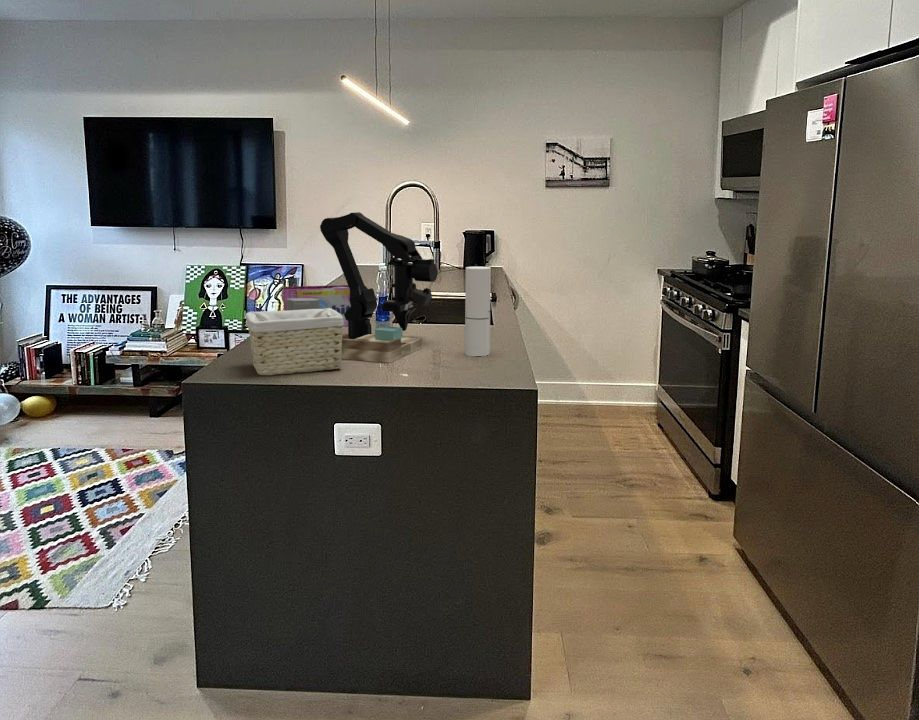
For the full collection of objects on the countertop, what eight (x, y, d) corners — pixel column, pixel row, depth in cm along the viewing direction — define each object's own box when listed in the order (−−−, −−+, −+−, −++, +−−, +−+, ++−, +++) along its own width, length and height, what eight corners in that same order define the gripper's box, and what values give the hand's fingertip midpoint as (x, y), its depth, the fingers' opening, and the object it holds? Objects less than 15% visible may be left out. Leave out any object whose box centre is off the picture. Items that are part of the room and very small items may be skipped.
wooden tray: (331, 357, 231) (331, 338, 229) (368, 343, 251) (368, 326, 249) (389, 363, 224) (388, 343, 223) (422, 348, 244) (422, 330, 243)
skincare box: (293, 356, 232) (291, 300, 229) (286, 351, 239) (284, 297, 235) (322, 353, 236) (320, 299, 233) (314, 349, 242) (312, 296, 239)
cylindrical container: (492, 352, 239) (493, 267, 234) (485, 357, 232) (486, 269, 227) (469, 350, 241) (470, 266, 236) (461, 355, 235) (462, 268, 229)
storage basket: (253, 378, 207) (250, 320, 203) (246, 364, 221) (244, 310, 218) (346, 371, 215) (345, 315, 212) (334, 359, 230) (332, 307, 226)
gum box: (282, 329, 274) (280, 289, 271) (281, 325, 282) (279, 286, 279) (353, 326, 281) (352, 287, 278) (350, 323, 288) (349, 284, 285)
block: (375, 339, 241) (375, 329, 241) (384, 336, 247) (384, 326, 246) (393, 341, 239) (393, 331, 239) (402, 337, 245) (402, 327, 244)
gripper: (414, 285, 238) (415, 337, 241) (439, 278, 255) (439, 327, 258) (380, 283, 242) (381, 335, 245) (407, 276, 259) (407, 325, 262)
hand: (403, 330), depth 252 cm, fingers closed
